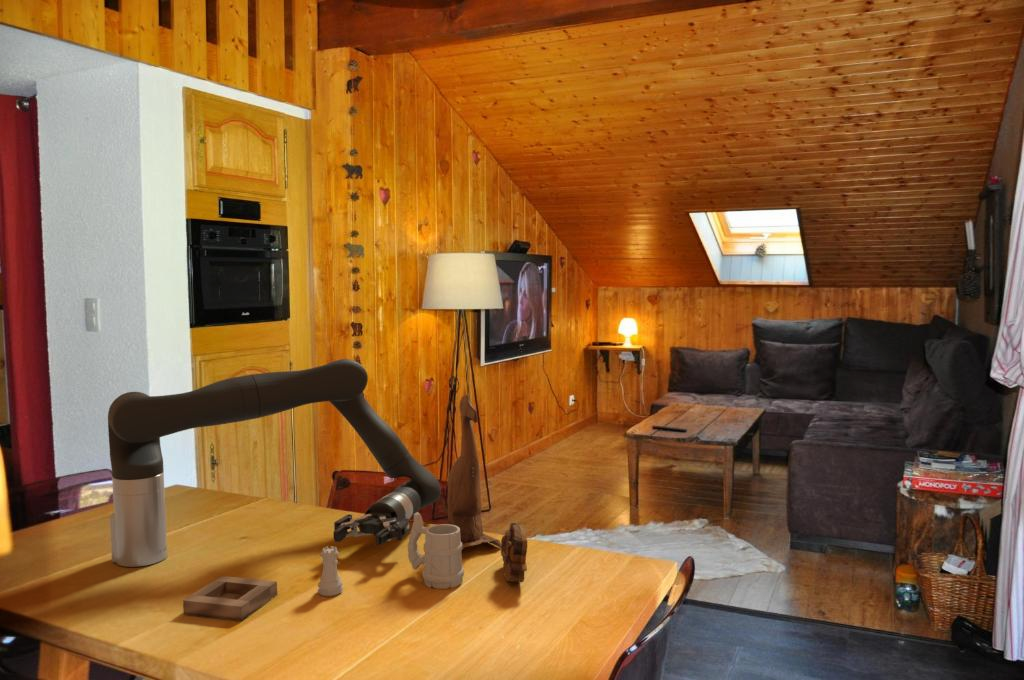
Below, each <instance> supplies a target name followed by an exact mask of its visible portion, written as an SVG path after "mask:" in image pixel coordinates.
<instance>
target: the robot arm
mask: <svg viewBox="0 0 1024 680" xmlns="http://www.w3.org/2000/svg"><path fill="white" fill-rule="evenodd" d="M368 379H369V375H368V372H367V370H366V369H365V367H364V366H363V365H362V364H361V363H360V362H357V361H356V360H353V359H349V358H340V359H337V360H333V361H329V362H328V363H326V364H323V365H318V366H314V367H310V368H307V369H302V370H301V369H300V370H288V371H271V372H261V373H253V374H247V375H239V376H234V377H229V378H226V379H222V380H219V381H216V382H213V383H210V384H207V385H205V386H202V387H199V388H196V389H193V390H191V391H188V392H183V393H182V392H181V393H175V394H167V395H166V394H165V395H154V396H151V395H148V394H146V393H144V392H141V391H127V392H125V393H123V394H121V395H119V396H118V397H115V399H114V400H113V401H112V403H111V404H110V406H109V409H108V412H107V428H108V429H107V430H108V445H109V459H110V465H111V478H112V479H111V481H112V494H113V495H112V497H113V499H112V501H113V513H111V514H110V516H109V530H110V547H111V548H110V549H111V550H110V551H111V562H112V563H116V564H117V565H118V566H121V567H126V568H135V567H145V566H149V565H153V564H157V563H159V562H162V561H163V560H165V559H166V558H167V557H168V543H167V542H168V541H167V537H168V536H167V519H166V518H167V517H166V496H165V494H166V493H165V475H164V474H165V473H164V471H165V470H164V469H165V468H164V458H163V453H162V448H161V438H162V437H166V436H169V435H172V434H176V433H179V432H183V431H187V430H191V429H198V428H205V427H213V426H221V425H226V424H227V425H228V424H233V423H240V422H245V421H251V420H255V419H259V418H260V419H261V418H264V417H268V416H272V415H277V414H279V413H282V412H285V411H286V412H287V411H289V410H292V409H295V408H298V407H302V406H305V405H309V404H315V403H316V404H317V403H324V402H329V403H330V404H331V405H332V406H333V407H335V409H337V411H338V412H339V413H340V414H341V415H342V417H344V419H345V420H346V421H347V422H348V424H349V425H350V426H351V427H352V428H353V429H354V430H355V432H356V433H357V434H358V436H359V437H360V439H361V440H362V441H363V443H364V444H365V445H366V447H367V449H368V450H369V451H370V453H371V454H372V456H373V457H374V459H375V461H377V463H378V465H379V466H380V468H381V469H382V470H383V472H384V473H385V475H386V476H387V478H389V479H398V478H403V477H404V478H408V479H409V480H407V481H406V482H405V481H404V482H403V483H401V484H399V485H398V486H397V487H395V488H394V490H393V491H392V492H390V493H388V494H386V495H385V496H383V497H381V498H380V499H377V501H375V502H374V503H372V504H371V505H370V506H369V507H368V508H367V509H366V511H365V512H364V514H363V515H361V516H359V517H355V518H354V517H353V515H352V514H351V513H350V514H346V515H344V516H342V517H340V518H339V519H338V520H336V521H334V523H333V526H334V527H333V530H334V531H333V535H332V536H333V540H334V542H335V543H340V542H342V541H343V540H344V539H346V538H347V537H351V536H352V537H355V538H356V537H361V536H365V535H366V536H370V535H373V536H374V537H375V546H376V547H380V546H382V545H384V544H386V543H387V542H390V541H393V539H395V540H396V541H402V540H403V539H404V537H406V535H408V534H410V520H411V519H412V518H414V514H415V513H417V512H418V513H419V510H421V509H424V508H425V507H427V506H429V505H431V504H433V503H435V502H437V500H439V499H440V497H441V493H442V487H441V483H440V482H439V480H438V479H437V477H436V476H435V475H434V473H432V472H431V471H429V470H428V469H427V468H426V467H425V466H423V465H422V464H421V463H420V462H419V461H418V460H416V459H415V457H413V456H412V454H411V453H410V452H409V449H408V448H407V446H406V445H405V444H404V443H403V441H402V439H401V438H400V437H399V436H398V434H397V433H396V432H395V431H394V430H393V429H392V427H391V426H390V425H389V424H388V423H387V422H386V421H385V420H384V419H383V418H382V417H380V416H379V414H378V413H377V412H376V411H375V410H374V409H373V407H372V406H371V404H369V402H368V400H367V399H366V397H365V396H364V394H363V393H364V391H365V389H366V388H367V385H368V383H369V381H368ZM348 530H349V531H348ZM358 530H359V531H358Z"/></svg>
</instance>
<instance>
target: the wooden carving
mask: <svg viewBox="0 0 1024 680" xmlns="http://www.w3.org/2000/svg"><path fill="white" fill-rule="evenodd" d="M500 542H501V548H500V554H501V557H502V561H503V564H502V565H503V575H504V579H505V580H506V581H507V582H515V583H524V581H525V572H527V570H528V565H527V564H526V560H527V559H526V558H527V552H528V540H527V532H526V528H525V526H524V525H523V524H522V523H520V522H511V523H510V526H509V530H508V529H507V530H505V533H504V535H503V536H502V538H501V540H500Z"/></svg>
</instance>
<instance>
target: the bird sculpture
mask: <svg viewBox="0 0 1024 680" xmlns="http://www.w3.org/2000/svg"><path fill="white" fill-rule="evenodd" d="M460 399H461V400H460V402H459V411H460V412H459V413H460V426H461V429H460V430H461V436H460V438H461V443H460V444H461V445H460V456H459V457H458V458H457V459H456V460H455V462H454V463H453V465H452V466H451V468H450V471H449V474H448V477H447V479H448V480H447V517H448V518H447V520H448V521H447V524H450V525H455V526H457V527H459V528H460V537H461V542H462V550H463V549H465V548H467V547H471V546H476V545H481V544H482V543H490V544H491V545H493V546H496V547H498V548H499V549H501V540H500V539H498V538H495V537H493V536H491V535H488V534H486V533H484V532H483V531H484V530H483V529H484V528H483V521H482V513H481V512H482V508H483V507H482V506H483V505H482V476H481V465H480V461H479V453H478V449H477V441H476V436H475V432H474V428H473V427H474V426H473V424H472V422H474V424H476V423H478V422H479V421H478V419H479V418H478V413H477V410H476V409H475V407H474V405H473V404H472V401H471V397H470V396H469V394H464V395H463V396H462V397H461V398H460Z"/></svg>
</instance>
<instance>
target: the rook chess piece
mask: <svg viewBox="0 0 1024 680" xmlns="http://www.w3.org/2000/svg"><path fill="white" fill-rule="evenodd" d="M339 554H340V552H339V551H338V548H337V546H331V545H330V548H329V546H325V547H323V548H322V549H321V553H320V554H319V555H320V557H321V558H322V561H321V564H322V573H321V577H320V579H319V580H320V581H319V582H318V584H317V588H318V589H317V593H318V595H320V596H322V597H328V596H329V597H334V595H335V596H338V595H340V594H341V593H342V592H343V590H344V587H343V581H342V579H341V577H340V576H339V573H338V567H337V565H338V563H339V561H338V559H337V557H338V556H339ZM339 593H340V594H339ZM337 594H338V595H337Z"/></svg>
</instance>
